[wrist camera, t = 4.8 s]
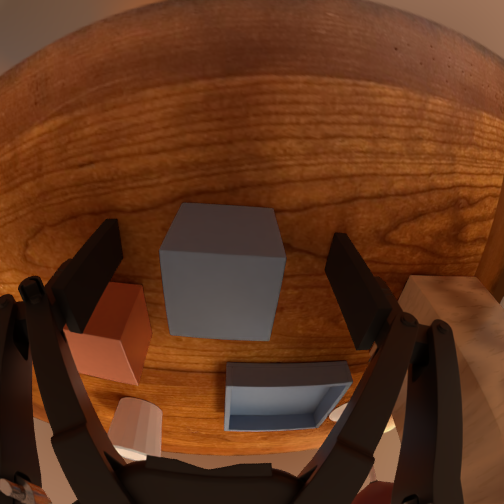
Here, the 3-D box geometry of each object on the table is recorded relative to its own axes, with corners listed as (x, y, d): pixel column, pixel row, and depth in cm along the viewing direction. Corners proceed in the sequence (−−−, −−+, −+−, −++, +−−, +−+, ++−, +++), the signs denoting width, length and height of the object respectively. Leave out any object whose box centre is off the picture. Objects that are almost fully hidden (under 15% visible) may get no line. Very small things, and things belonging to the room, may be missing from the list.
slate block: (273, 207, 15) (286, 257, 11) (262, 281, 17) (269, 341, 13) (182, 202, 14) (158, 249, 10) (184, 276, 17) (169, 335, 13)
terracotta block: (142, 284, 17) (120, 340, 13) (152, 333, 20) (138, 385, 16) (81, 277, 17) (51, 326, 13) (98, 325, 19) (78, 372, 15)
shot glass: (171, 405, 27) (164, 458, 21) (163, 422, 30) (157, 467, 24) (114, 388, 25) (101, 440, 19) (115, 408, 28) (104, 452, 22)
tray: (346, 360, 23) (353, 381, 21) (315, 410, 29) (318, 427, 26) (226, 361, 22) (225, 386, 20) (224, 412, 28) (224, 430, 26)
